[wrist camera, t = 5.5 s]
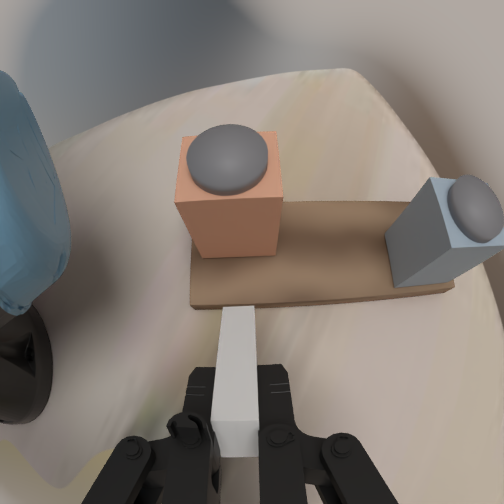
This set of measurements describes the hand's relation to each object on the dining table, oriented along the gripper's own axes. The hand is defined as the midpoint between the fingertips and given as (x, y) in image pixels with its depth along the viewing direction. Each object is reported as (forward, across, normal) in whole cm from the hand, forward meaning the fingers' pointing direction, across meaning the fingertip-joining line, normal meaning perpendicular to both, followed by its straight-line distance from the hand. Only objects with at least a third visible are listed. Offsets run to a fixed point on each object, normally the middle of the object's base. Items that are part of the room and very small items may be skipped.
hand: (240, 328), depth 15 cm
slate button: (+10, +16, -2) cm, 18 cm away
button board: (+12, +8, -2) cm, 15 cm away
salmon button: (+12, 0, +1) cm, 12 cm away
